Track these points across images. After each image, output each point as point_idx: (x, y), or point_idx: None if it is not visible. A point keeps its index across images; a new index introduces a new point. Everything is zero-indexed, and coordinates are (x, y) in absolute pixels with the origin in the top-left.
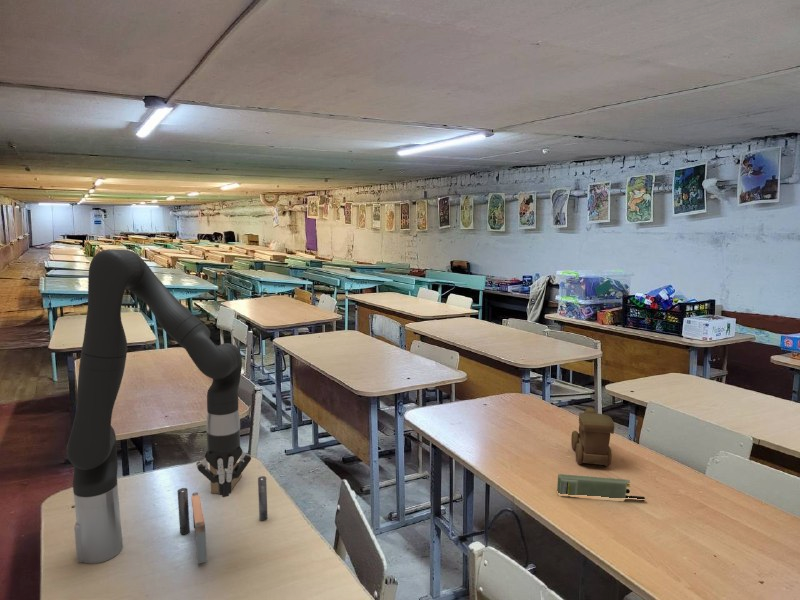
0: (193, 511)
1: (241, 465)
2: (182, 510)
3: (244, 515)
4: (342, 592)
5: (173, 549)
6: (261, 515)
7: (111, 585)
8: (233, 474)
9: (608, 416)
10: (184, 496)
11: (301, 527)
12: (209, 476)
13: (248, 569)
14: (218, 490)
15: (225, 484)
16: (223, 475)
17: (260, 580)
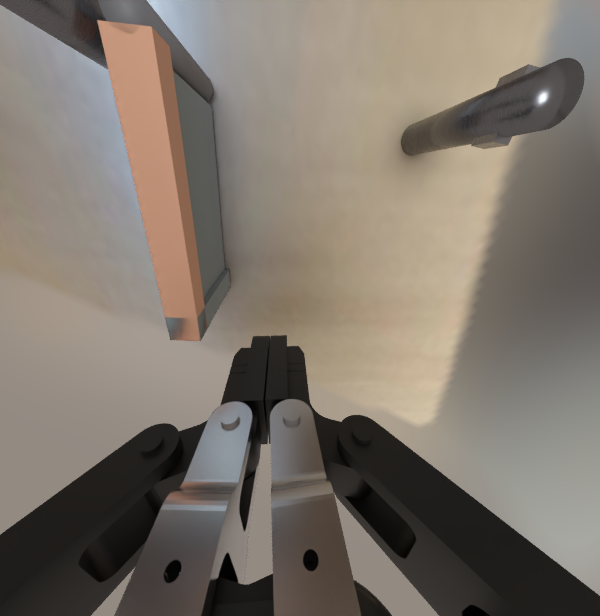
0: (146, 221)
1: (432, 605)
2: (98, 63)
3: (371, 73)
4: (411, 420)
5: None
6: (412, 149)
7: (22, 257)
8: (333, 486)
9: None
10: (46, 20)
11: (470, 243)
12: (113, 557)
13: (309, 329)
14: (233, 364)
15: (267, 434)
16: (246, 524)
17: (319, 361)
